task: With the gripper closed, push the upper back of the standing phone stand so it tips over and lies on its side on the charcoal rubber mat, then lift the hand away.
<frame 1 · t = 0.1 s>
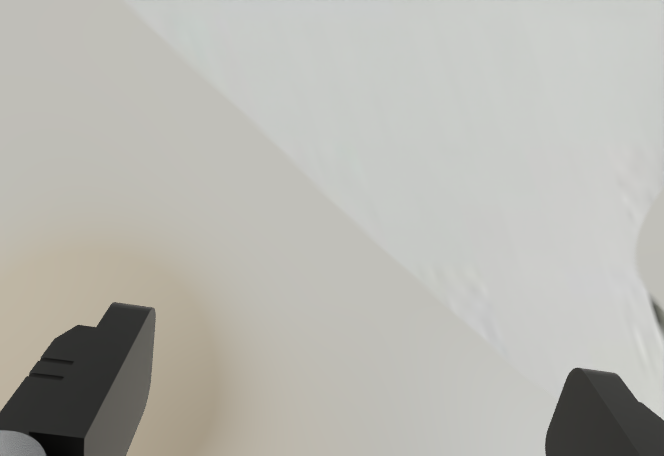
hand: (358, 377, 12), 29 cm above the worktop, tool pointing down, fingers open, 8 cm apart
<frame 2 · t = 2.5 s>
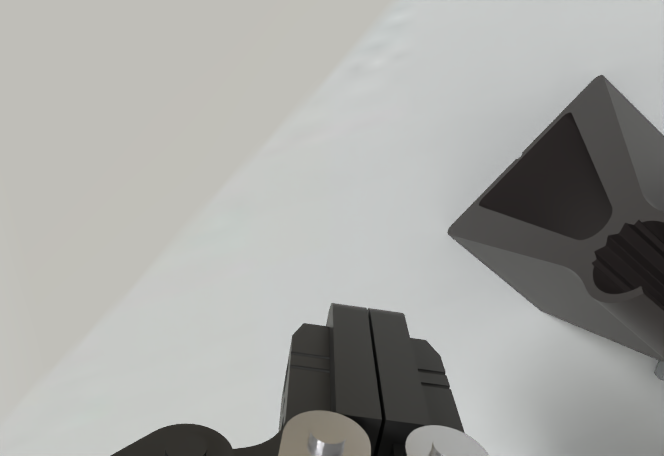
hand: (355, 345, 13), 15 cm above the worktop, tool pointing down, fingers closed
phone stand: (564, 196, 28), on the worktop
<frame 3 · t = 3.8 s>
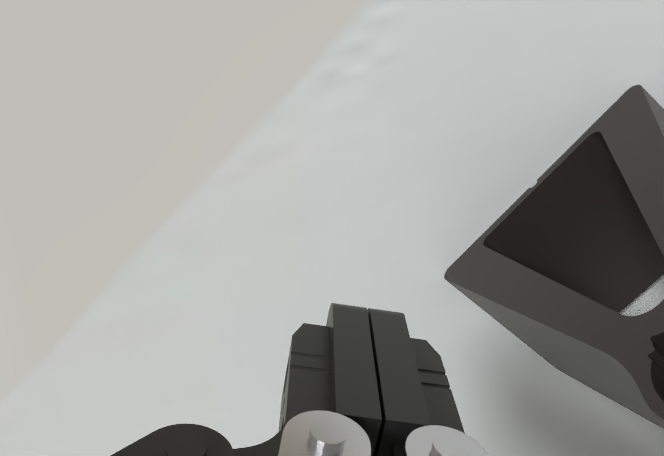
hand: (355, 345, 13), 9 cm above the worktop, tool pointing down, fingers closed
phone stand: (587, 232, 22), on the worktop
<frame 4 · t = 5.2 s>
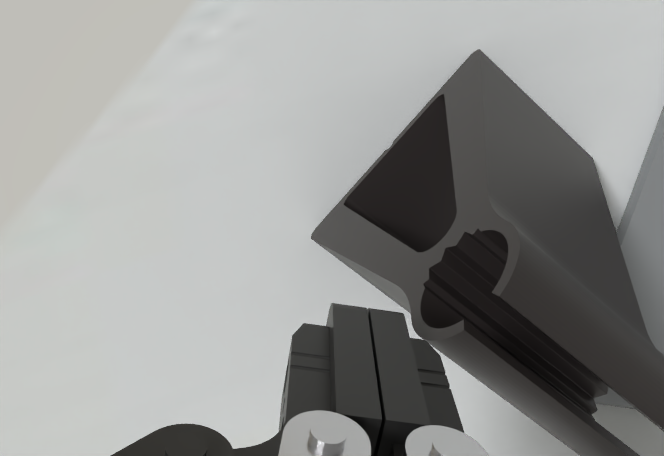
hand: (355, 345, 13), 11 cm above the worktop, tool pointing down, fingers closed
phone stand: (446, 192, 24), on the worktop, touching gripper
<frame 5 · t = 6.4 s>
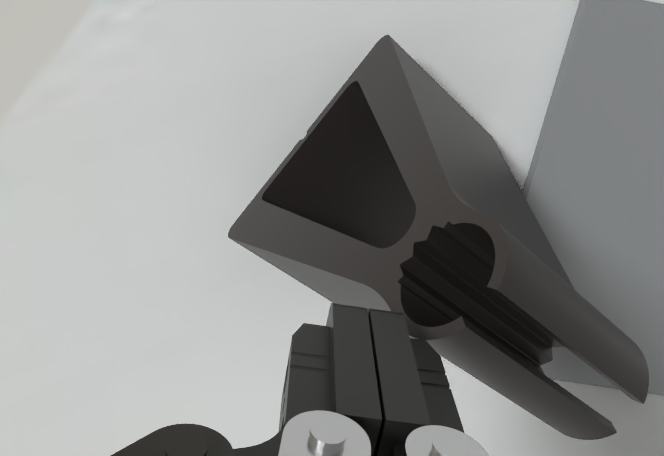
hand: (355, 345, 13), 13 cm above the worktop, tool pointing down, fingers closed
phone stand: (359, 179, 24), point 1 cm above the worktop, touching gripper
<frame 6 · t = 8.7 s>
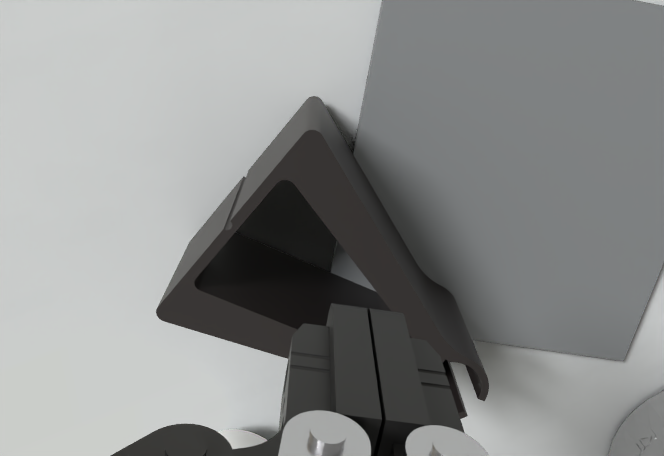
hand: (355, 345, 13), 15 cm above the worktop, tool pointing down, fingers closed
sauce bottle: (238, 448, 33), on the worktop
rubber mat: (519, 180, 28), on the worktop
phone stand: (233, 193, 24), point 4 cm above the worktop, touching rubber mat
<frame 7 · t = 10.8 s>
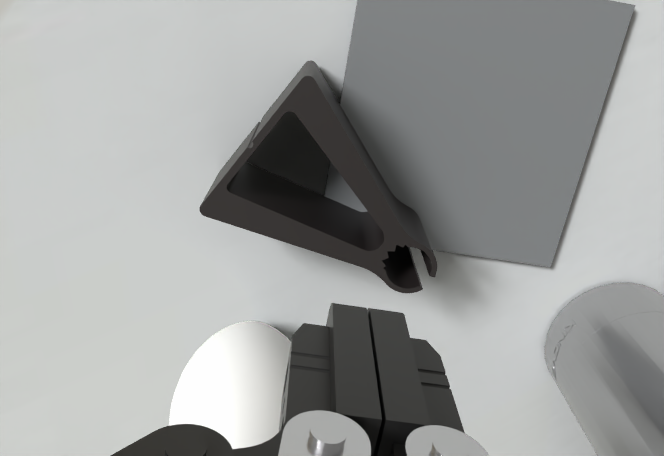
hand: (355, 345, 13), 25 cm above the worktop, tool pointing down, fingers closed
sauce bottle: (254, 342, 43), on the worktop
rubber mat: (464, 124, 37), on the worktop
phone stand: (252, 128, 33), point 4 cm above the worktop, touching rubber mat
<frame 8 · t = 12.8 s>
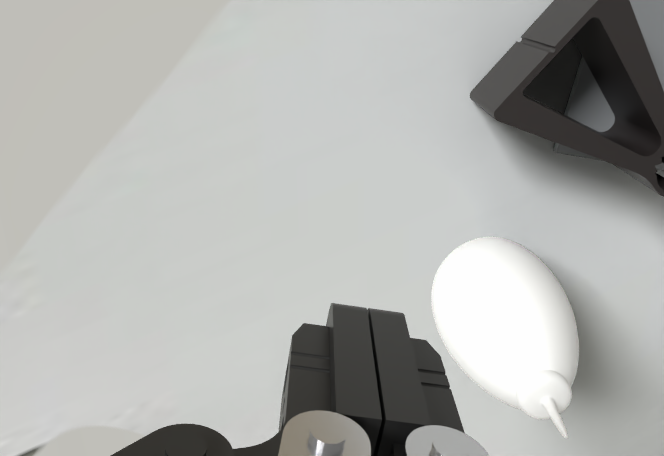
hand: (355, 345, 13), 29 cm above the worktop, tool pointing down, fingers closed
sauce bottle: (474, 263, 45), on the worktop
phone stand: (531, 41, 35), point 4 cm above the worktop, touching rubber mat
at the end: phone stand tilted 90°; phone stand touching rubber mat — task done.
